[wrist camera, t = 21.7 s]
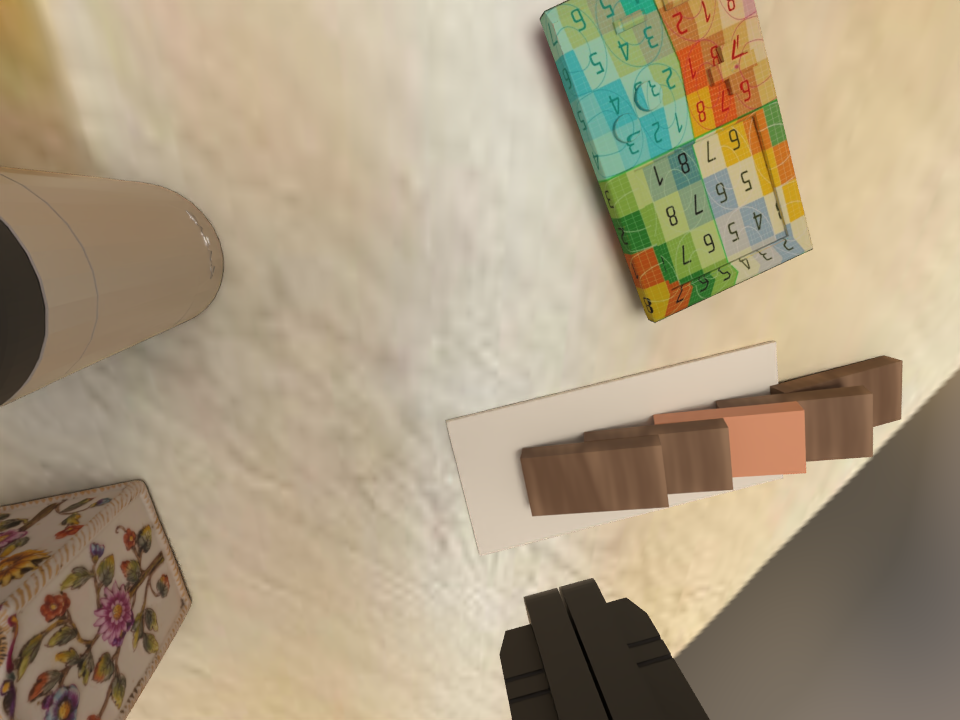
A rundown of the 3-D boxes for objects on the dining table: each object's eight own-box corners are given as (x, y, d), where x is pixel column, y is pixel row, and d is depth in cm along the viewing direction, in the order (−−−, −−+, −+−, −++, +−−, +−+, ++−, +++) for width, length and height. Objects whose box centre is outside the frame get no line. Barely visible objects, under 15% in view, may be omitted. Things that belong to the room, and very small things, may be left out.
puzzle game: (742, -89, 29) (823, 249, 35) (698, -48, 33) (776, 245, 39) (548, 4, 29) (660, 325, 35) (531, 33, 33) (633, 312, 39)
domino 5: (786, 451, 41) (901, 419, 42) (784, 392, 40) (902, 360, 41) (772, 442, 43) (883, 412, 44) (769, 386, 41) (884, 355, 42)
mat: (479, 553, 43) (479, 556, 42) (445, 420, 39) (446, 422, 39) (780, 475, 44) (783, 478, 44) (772, 340, 41) (776, 341, 40)
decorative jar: (197, 605, 41) (39, 884, 24) (45, 637, 41) (-231, 949, 23) (145, 471, 38) (-81, 684, 21) (-22, 503, 37) (-400, 752, 20)
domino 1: (532, 516, 40) (669, 507, 38) (519, 458, 39) (661, 445, 36) (534, 504, 42) (666, 494, 39) (522, 448, 40) (658, 434, 38)
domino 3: (661, 481, 41) (806, 472, 38) (655, 423, 39) (804, 410, 37) (659, 471, 42) (798, 461, 40) (653, 414, 41) (796, 401, 38)
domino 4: (724, 467, 41) (872, 456, 38) (719, 408, 40) (872, 393, 37) (720, 457, 42) (862, 446, 40) (715, 400, 41) (862, 385, 38)
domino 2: (593, 499, 40) (733, 489, 38) (583, 441, 39) (728, 427, 37) (593, 488, 42) (727, 478, 40) (583, 431, 41) (723, 417, 38)
